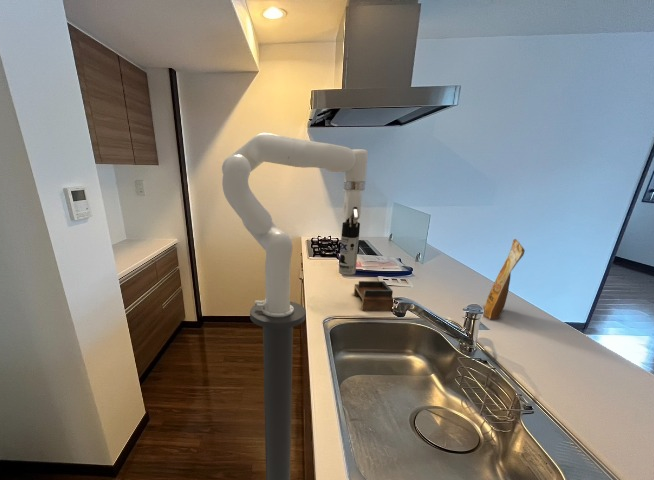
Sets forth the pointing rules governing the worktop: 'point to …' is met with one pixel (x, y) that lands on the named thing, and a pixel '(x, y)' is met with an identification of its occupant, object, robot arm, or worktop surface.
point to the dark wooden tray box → (374, 295)
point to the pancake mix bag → (503, 283)
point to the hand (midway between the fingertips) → (350, 235)
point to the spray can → (348, 251)
